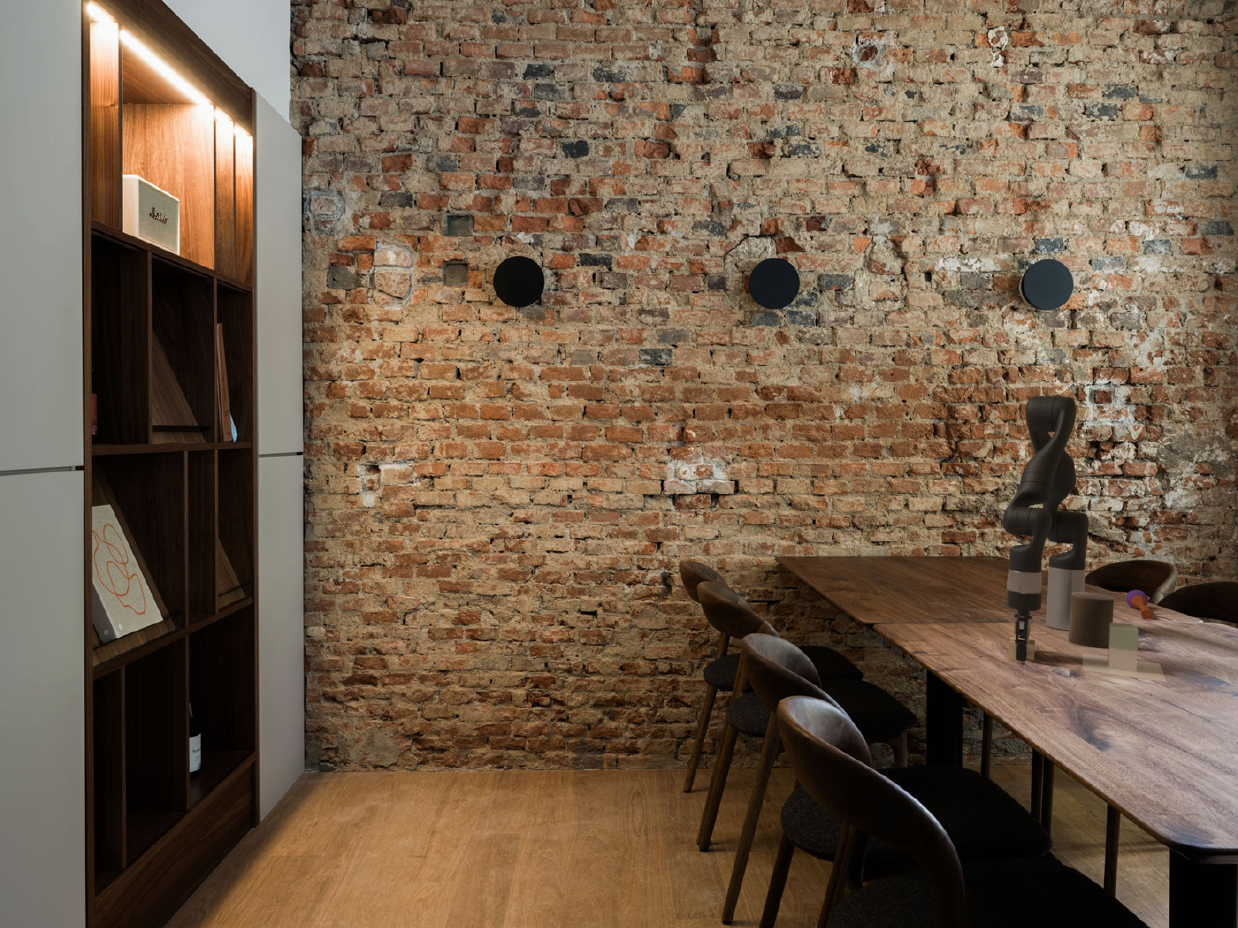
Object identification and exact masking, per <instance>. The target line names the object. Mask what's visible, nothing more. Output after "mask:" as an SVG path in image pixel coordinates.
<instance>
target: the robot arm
mask: <svg viewBox="0 0 1238 928" xmlns="http://www.w3.org/2000/svg"><path fill="white" fill-rule="evenodd" d="M1024 410H1025V412H1024V413H1025V422H1026V426H1027V429H1028V433H1029V436H1030V437H1029V438H1030V442H1031V444H1032V449H1033V454H1034V455H1033V456H1032V457H1031V458H1030V459H1029V460H1028V461H1027V463H1026V464H1025V465H1024V467H1023V469H1022V470H1023V471H1022V474H1021V477H1020V481H1019V482H1020V483H1019V485H1018V486H1019V487H1018V490H1017V492H1016V493H1015V495H1014V497H1013V498H1012V500H1011V502H1010V503H1009V504H1008V506H1007V507H1006V509H1005V511H1004V513H1003V514H1002V515H1003V516H1002V521H1001V522H1002V528H1003V530H1004V531H1005V532H1006V533H1008V534H1009V535H1014V536H1024V537H1032V539H1031V541H1030V542H1029V543H1027V544H1017V545H1013V546H1011V547H1010V550H1009V559H1008V560H1009V563H1008V564H1009V566H1008V574H1007V575H1008V576H1007V580H1006V581H1007V583H1006V606H1007V607H1008V608H1010V609H1012V610H1013V609H1014V610H1016V611H1017V613H1014V615H1013V623H1014V631H1013V633H1014V635H1015V638H1016V640H1015V643H1016V660H1018V661H1025V662H1026V660H1027V659H1026V650H1027V645H1028V642H1027V639H1030V636H1031V632H1032V624H1033V615H1031V612H1035V611H1036V612H1037V611H1039V610H1041V609H1042V592H1043V577H1042V564H1043V563H1042V561H1043V552H1044V549H1045V544H1046V541H1047V540H1048V541H1049V542H1051V543H1052V542H1053V543H1058V544H1065V545H1066V544H1067V545H1072V548H1071V549H1070V550H1067V551H1065V552H1060V553H1058V554H1053V555H1050V557H1049V558H1048V568H1047V594H1046V595H1047V596H1046V599H1047V600H1046V615H1045V616H1046V619H1045V625H1046V626H1047V627H1049V628H1052V629H1056V630H1062V631H1069V627H1070V612H1071V596H1072V593H1074V592H1085V590H1086V589H1085V587H1086V586H1085V585H1086V561H1087V547H1088V537H1089V526H1090V522H1089V517H1088V515H1087V514H1086V513H1085V512H1081V511H1068V510H1059V509H1058V508H1059V506H1060V505H1061V503H1062V502H1064V500H1065V499H1066V498H1068V496H1069V495H1070V494H1071V493H1072V491H1073V490H1074V489H1075V486H1076V485H1077V474H1076V473H1077V472H1076V467H1075V461H1074V460H1073V458H1072V457H1071V455H1070V454H1069V453H1068V452H1067V450H1065V449H1066V447H1067V444H1068V441H1069V439H1070V437H1071V435H1072V431H1073V429H1074V426H1075V422H1076V418H1077V405H1076V401H1075V399H1074V398H1072V397H1070V396H1063V395H1061V396H1060V395H1059V396H1058V395H1035V396H1032V397H1030V398H1029V399H1028V400H1027V402H1026V405H1025V409H1024ZM1050 433H1053V435H1052V436H1051V434H1050ZM1036 505H1037V506H1038V505H1042V507H1032V506H1036ZM1018 638H1022V639H1025V640H1022V639H1018Z"/></svg>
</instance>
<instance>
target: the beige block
mask: <svg viewBox="0 0 1238 928" xmlns="http://www.w3.org/2000/svg"><path fill="white" fill-rule="evenodd" d="M1138 651H1139V650H1138ZM1138 651H1131V650H1123V649H1115V648H1110V646H1109V648H1108V653H1107V654H1108V656H1107V657H1108V665H1109V668H1112V669H1119V670H1126V671H1134V672H1137V661H1138V653H1139V652H1138Z"/></svg>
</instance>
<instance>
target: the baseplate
mask: <svg viewBox="0 0 1238 928" xmlns="http://www.w3.org/2000/svg"><path fill="white" fill-rule="evenodd" d="M1081 657H1082V671H1084V672H1089V673H1098V674H1105V675H1112V676H1120V677H1128V678H1134V679H1140V680H1149V681H1156V682H1161V683H1168V682H1167V679H1166V677H1165V675H1164V672H1163V668H1162V666H1161V663H1158V662H1157V663H1156V662H1148V661H1141V660H1137V672H1134V671H1126V670H1119V669H1112V668H1109V665H1108V656H1104V655H1103V656H1102V655H1096V654H1095V655H1094V654H1087V653H1081Z"/></svg>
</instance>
